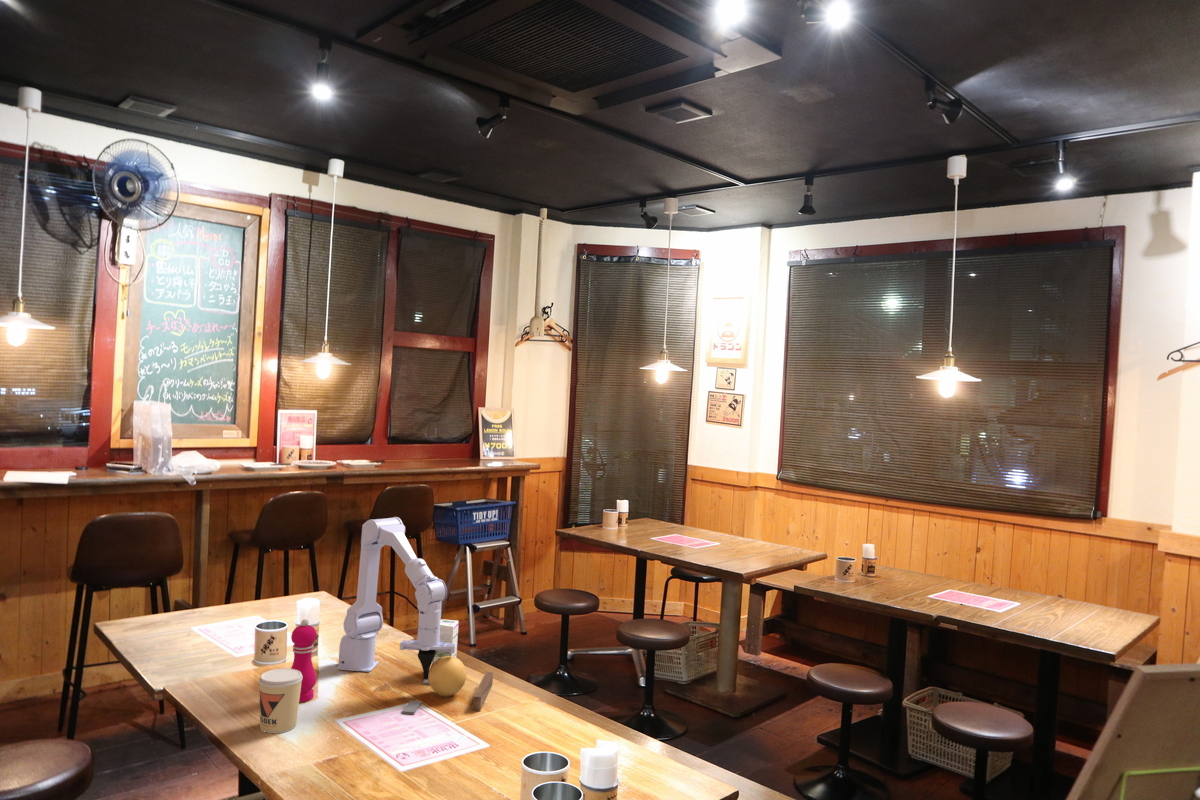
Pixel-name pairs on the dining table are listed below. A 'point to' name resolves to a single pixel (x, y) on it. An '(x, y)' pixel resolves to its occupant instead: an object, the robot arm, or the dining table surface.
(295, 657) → the pepper mill
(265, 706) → the coffee cup
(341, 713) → the dining table surface
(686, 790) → the dining table surface
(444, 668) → the stress ball
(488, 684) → the bar
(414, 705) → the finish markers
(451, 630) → the syrup box
